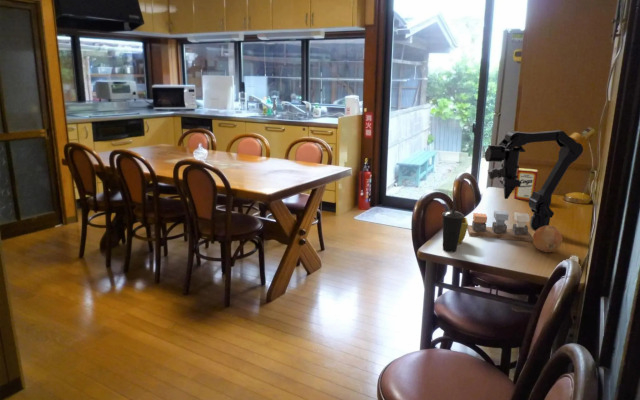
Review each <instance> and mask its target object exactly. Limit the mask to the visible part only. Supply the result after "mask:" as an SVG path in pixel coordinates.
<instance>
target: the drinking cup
mask: <svg viewBox="0 0 640 400" xmlns="http://www.w3.org/2000/svg"><path fill="white" fill-rule="evenodd" d="M456 200H457V197H456V196H455V197H453V203H452V204H453V205H452V210H447V211H444V212H442V214H441V215H442V251H444V252H448V253H455V252H457V249H458V245H459V244H458V240H459V235H460V230H461V225H462V220H463V218H464V217H465V214H463V213H462V212H460V211H457V210H455V208H456Z"/></svg>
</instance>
